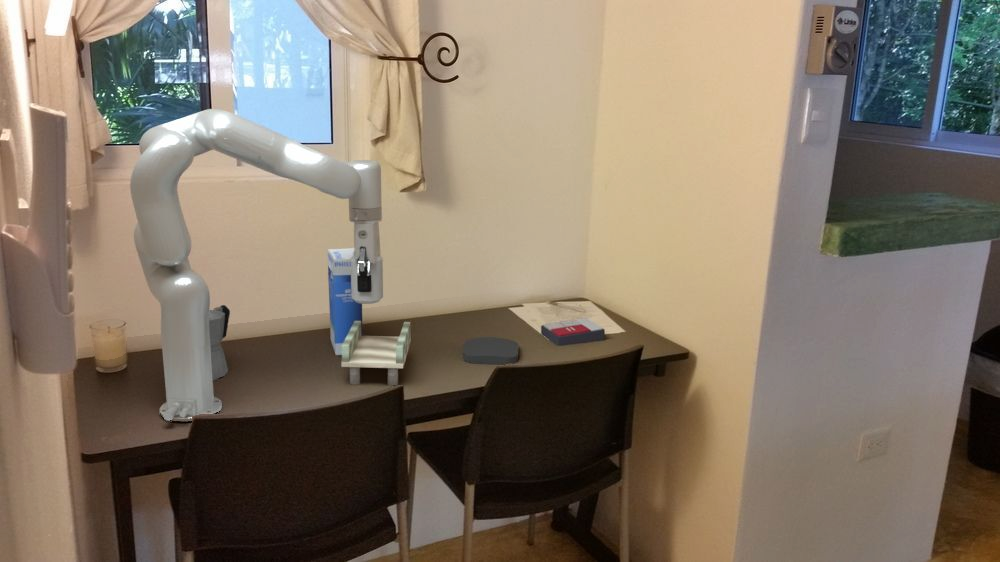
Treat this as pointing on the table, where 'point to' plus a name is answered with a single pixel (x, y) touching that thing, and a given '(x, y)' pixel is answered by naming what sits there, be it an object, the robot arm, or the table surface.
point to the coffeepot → (218, 339)
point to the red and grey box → (573, 332)
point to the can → (376, 282)
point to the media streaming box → (490, 350)
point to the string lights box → (341, 297)
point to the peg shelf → (375, 352)
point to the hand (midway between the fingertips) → (367, 286)
